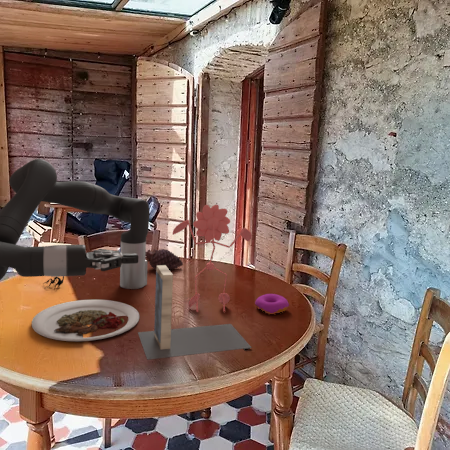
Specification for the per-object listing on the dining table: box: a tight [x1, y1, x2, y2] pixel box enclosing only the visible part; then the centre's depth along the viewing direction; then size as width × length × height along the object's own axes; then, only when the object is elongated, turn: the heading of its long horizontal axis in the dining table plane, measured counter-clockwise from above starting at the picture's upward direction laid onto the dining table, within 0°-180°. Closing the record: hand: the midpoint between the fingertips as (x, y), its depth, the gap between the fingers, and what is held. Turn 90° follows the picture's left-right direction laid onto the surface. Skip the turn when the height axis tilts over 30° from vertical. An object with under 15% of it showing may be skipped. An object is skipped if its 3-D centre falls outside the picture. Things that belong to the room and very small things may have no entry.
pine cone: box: [146, 248, 184, 271], centre depth 181 cm, size 18×10×10 cm
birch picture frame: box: [153, 265, 174, 350], centre depth 111 cm, size 9×3×20 cm, turn 20°
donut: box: [254, 293, 290, 313], centre depth 142 cm, size 11×10×5 cm
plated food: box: [31, 299, 140, 342], centre depth 123 cm, size 30×30×3 cm
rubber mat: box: [137, 323, 252, 361], centre depth 115 cm, size 28×16×1 cm, turn 110°
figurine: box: [172, 204, 253, 313], centre depth 140 cm, size 15×26×35 cm, turn 104°
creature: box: [43, 276, 65, 289], centre depth 152 cm, size 8×5×8 cm
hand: (137, 258), depth 106 cm, fingers closed
